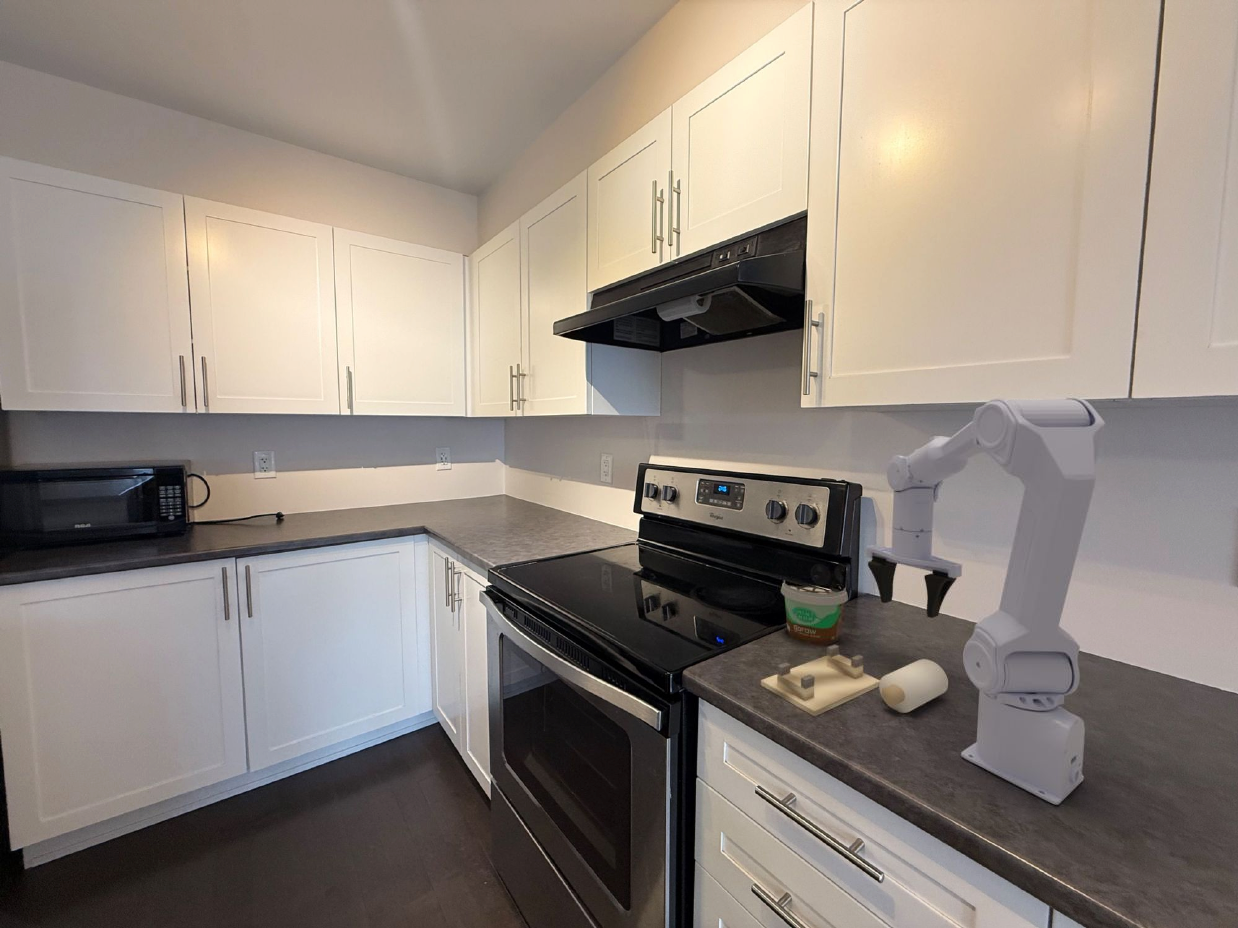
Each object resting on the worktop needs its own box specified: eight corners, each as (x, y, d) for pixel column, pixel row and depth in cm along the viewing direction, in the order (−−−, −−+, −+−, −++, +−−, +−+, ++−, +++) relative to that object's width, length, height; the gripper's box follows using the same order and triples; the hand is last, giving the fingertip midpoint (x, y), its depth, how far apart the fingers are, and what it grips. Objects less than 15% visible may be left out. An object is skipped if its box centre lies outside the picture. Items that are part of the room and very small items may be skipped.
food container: (774, 639, 96) (775, 588, 95) (780, 627, 101) (781, 579, 100) (844, 652, 90) (846, 598, 89) (846, 639, 95) (848, 588, 95)
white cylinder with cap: (953, 697, 75) (954, 664, 75) (907, 723, 69) (909, 687, 68) (917, 682, 79) (919, 651, 79) (871, 705, 73) (873, 671, 73)
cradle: (880, 685, 78) (881, 661, 78) (814, 716, 70) (815, 689, 70) (825, 660, 87) (826, 637, 87) (760, 684, 79) (761, 660, 78)
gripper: (973, 533, 78) (968, 617, 79) (883, 519, 90) (880, 591, 91) (950, 539, 74) (945, 627, 75) (860, 523, 87) (857, 598, 88)
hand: (908, 608), depth 83 cm, fingers open, 7 cm apart
